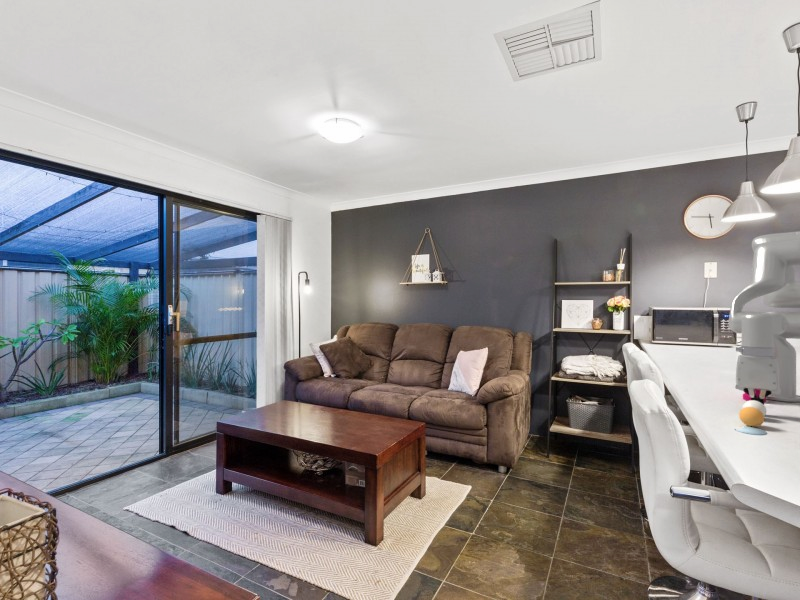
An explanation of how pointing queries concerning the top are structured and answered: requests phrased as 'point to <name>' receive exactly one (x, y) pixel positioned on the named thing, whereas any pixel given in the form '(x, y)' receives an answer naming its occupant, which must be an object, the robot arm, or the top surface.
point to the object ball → (751, 416)
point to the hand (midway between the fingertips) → (757, 410)
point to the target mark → (752, 430)
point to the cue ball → (755, 405)
